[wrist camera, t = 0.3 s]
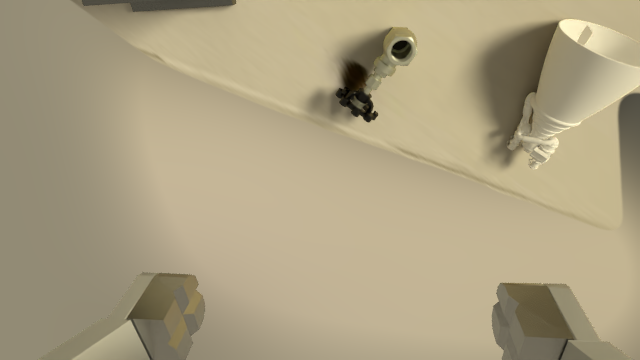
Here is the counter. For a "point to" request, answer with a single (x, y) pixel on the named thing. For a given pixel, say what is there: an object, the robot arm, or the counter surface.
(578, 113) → the rocket engine
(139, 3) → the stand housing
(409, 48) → the valve
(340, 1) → the counter surface
